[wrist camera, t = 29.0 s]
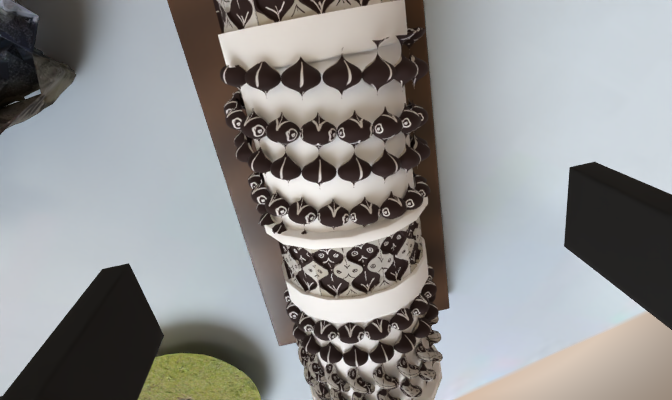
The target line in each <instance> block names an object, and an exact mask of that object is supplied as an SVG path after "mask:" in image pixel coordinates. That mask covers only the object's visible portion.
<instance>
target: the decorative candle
mask: <svg viewBox="0 0 672 400" xmlns="http://www.w3.org/2000/svg"><path fill="white" fill-rule="evenodd" d="M213 2H214V6H215V10H216V13H217V17H218V21H219V25H220V28H221V32H222V34H219V35H218V37H219V41H220V45H221V48H222V52H223V55H224V59H225V63H226V66H224V67H223V68H222V69H221V71H220V78H221V80H222V81H223V82H224V83H225V84H228V85H230V86H234V87H236V88H238V89H239V90H238V91H237V92H235V94H234V93H233V97H232V99H231V100H229V101H228V102H227V103H226V104H225V106H224V113H225V115H226V117H225V121H226V124H227V126H228V127H230V128H232V129H234V130H239V131H241V132H240V133H239V134H238V135H237V136H236V137H235V139H234V144H235V146H236V147H237V149H236V157H237V159H238V160H239V161H241V162H246V163H248V166H249V167H250V169H251V170H253V171H255V172H254V173H252V174H251V175H250V176H249V178H248V184H249V186H250V187H251V188H252V189H253V190H252V192H251V198H252V200H253V201H254V202H255V203H257V204H258V205H257V211H258V212H259V213H260V214H262V216H261V217H260V221H259V223H260V225H261V226H263V225H264V226H265V230H266V233H267V234H269V235H270V236H272V237H273V238H275V239H276V240H278V242H279V246H280V250H281V253H282V257H283V263H282V269H283V273H284V277H285V281H286V284H287V289H286V290H285V293H284V298H285V300H286V301H287V302H288V304H287V306H286V312H287V314H288V316H289V317H290V319H291V321H292V322H294V323H295V325H294V326H293V335H294V337H295V338H296V343H297V345H298V347H299V351H298V354H299V359H300V362H301V363H302V365H303V366H304V367H305V368H304V375H305V379H306V381H307V383H308V384H309V385H310V388H311V392H312V396H313V400H434V398H435V395H436V393H437V390H438V387H439V385H440V382H441V379H442V373H441V366H440V361H441V360H442V358H443V357H442V354H441V353H440V352H438V351H437V349H436V348H435V346H434V345H433V344H434V343H438V342H439V341H440V340H441V335H440V333H439V332H437V331H434V330H432V329H431V326H432V325H433V324H436V323H437V322H438V319H439V318H438V313H439V312H438V308H437V307H436V305H435V304H433V302H434V300H435V298H436V292H437V287H436V284H435V283H434V282H433V281H432V279H433V278H434V269H433V268H432V267H431V266H429V265H427V254H426V247H425V240H424V238H423V237H422V236H421V224H420V214H421V213H422V211H423V210H424V209H425V207H426V206H427V204H428V197H427V195H429V194H430V188H429V186H428V185H427V184H426V182H427V179H426V178H424V177H422V176H419V175H417V174H415V173H414V171H413V169H412V168H414V167H416V166H417V167H418V164H419V163H420V162H421V161H423V160H425V159H426V158H428V157H429V156H430V154H431V151H430V148H429V147H428V143H427V141H426V140H424V139H422V138H420V137H418V136H416V135H415V134H414V135H413V137H412V136H409V133H411V132H412V131H414V130H415V132H416V130H417V129H418V128H419V127H421V126H422V125H424V124H425V123H426V122H427V121H428V113H427V111H426V110H425V109H424V108H423V107H421V106H418V105H415V104H414V103H413V100H412V103H411V102H410V100H409V99H408V100H409V102H408V105H406V95H405V84H406V83H407V82H409V81H410V80H412V81H413V85H414V86H415V84H416V82H417V81H418V80H419V79H421V78H422V77H424V76H425V75H426V74H427V73H428V70H429V67H428V64H427V63H426V62H425V61H423V60H421V59H419V58H417V57H416V56H414V55H413V53H412V56H411V55H410V57H409V59H408V58H406V57H405V56H404V55H403V54H402V50H401V48H402V46H403V45H404V44H405V45H407V47H408V48H409V49H410V47H411V49H412V45H413V44H414V43H415V42H416V41H417V40H418V39H419V38H421V37H422V36H423V35H424V33H425V31H426V29H424V28H420V27H417V28H413V29H410V28H407V22H406V10H405V0H213ZM409 53H410V52H409ZM414 89H415V88H414ZM242 109H245V110H246V112H247V117H246V115H245V114H244V113H243V111H242ZM252 139H254V142H255V146H256V150H257V151H256V152H253V150H252V149H251V147H252ZM417 169H418V168H417ZM264 181H265V183H266V187H265V186H264Z"/></svg>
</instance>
